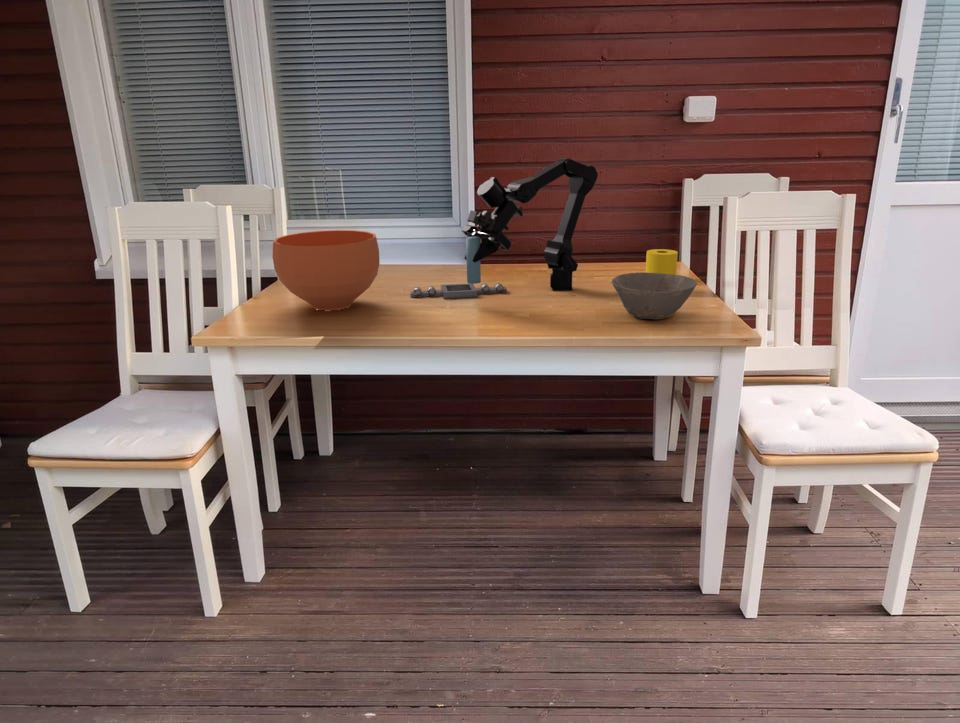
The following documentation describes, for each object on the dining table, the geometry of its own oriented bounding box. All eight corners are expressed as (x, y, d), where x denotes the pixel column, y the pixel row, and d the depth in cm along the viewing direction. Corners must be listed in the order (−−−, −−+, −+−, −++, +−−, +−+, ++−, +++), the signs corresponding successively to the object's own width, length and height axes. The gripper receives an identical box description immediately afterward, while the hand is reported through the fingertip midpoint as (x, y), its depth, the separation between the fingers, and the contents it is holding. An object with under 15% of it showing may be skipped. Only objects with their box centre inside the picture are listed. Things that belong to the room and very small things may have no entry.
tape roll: (668, 284, 214) (670, 255, 211) (640, 280, 220) (641, 252, 217) (680, 278, 222) (682, 250, 219) (652, 275, 228) (654, 248, 224)
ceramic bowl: (690, 307, 187) (693, 272, 184) (696, 330, 166) (700, 292, 163) (611, 304, 192) (613, 270, 189) (608, 326, 171) (610, 289, 168)
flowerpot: (384, 316, 184) (378, 243, 177) (274, 323, 180) (264, 248, 173) (381, 291, 212) (376, 227, 205) (286, 297, 208) (278, 232, 201)
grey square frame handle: (503, 287, 214) (503, 280, 213) (509, 295, 204) (508, 287, 203) (410, 292, 210) (409, 284, 209) (411, 300, 201) (410, 292, 200)
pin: (481, 280, 194) (480, 236, 189) (480, 283, 190) (479, 238, 185) (467, 280, 194) (466, 236, 189) (466, 283, 190) (465, 238, 186)
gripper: (466, 197, 193) (435, 238, 191) (502, 202, 179) (469, 247, 177) (488, 221, 200) (459, 262, 198) (525, 228, 185) (493, 272, 183)
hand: (469, 260), depth 189 cm, fingers closed on pin, 4 cm apart
